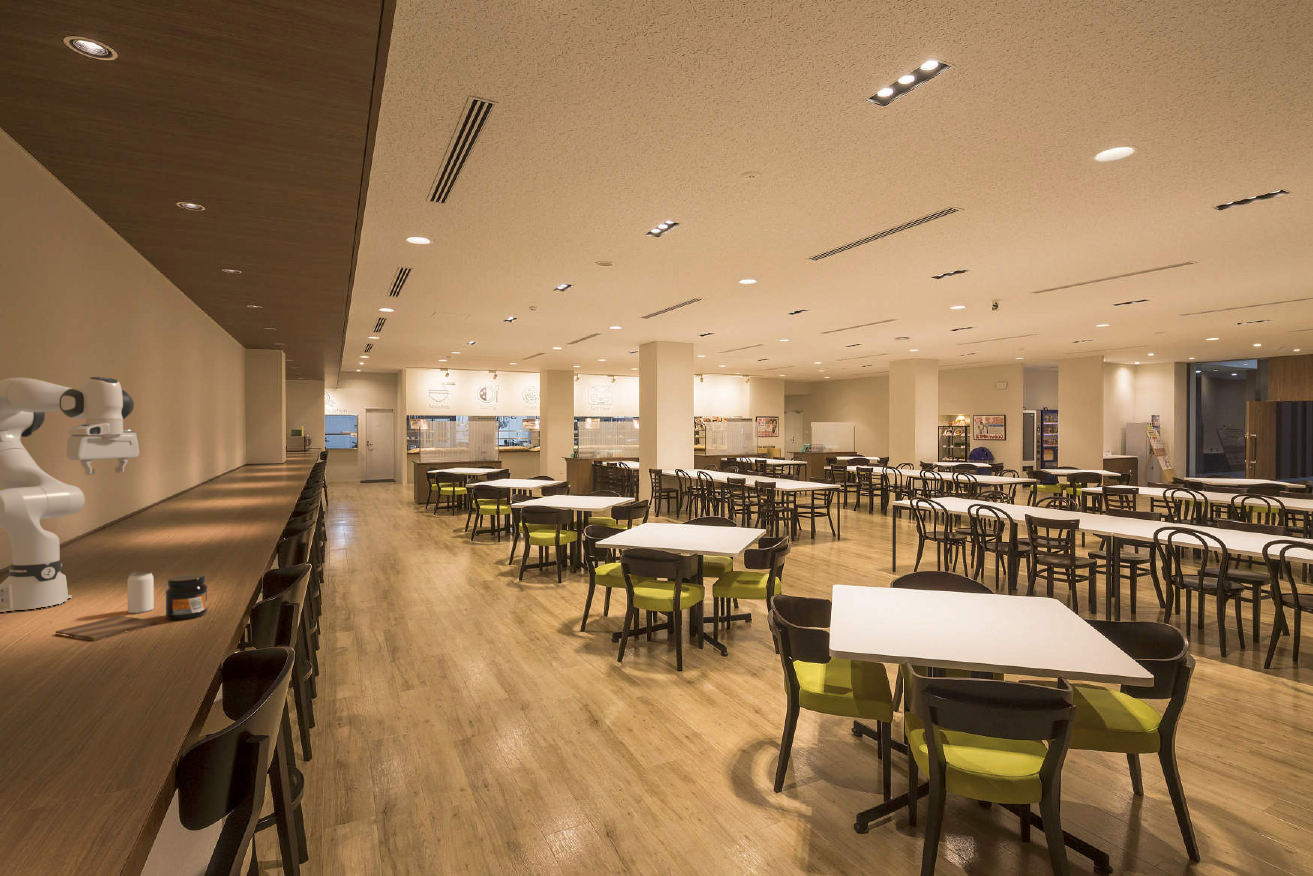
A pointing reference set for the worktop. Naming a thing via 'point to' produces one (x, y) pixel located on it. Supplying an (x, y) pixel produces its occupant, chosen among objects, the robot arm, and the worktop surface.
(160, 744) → the worktop surface
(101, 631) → the walnut board
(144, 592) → the can
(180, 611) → the supplement container
